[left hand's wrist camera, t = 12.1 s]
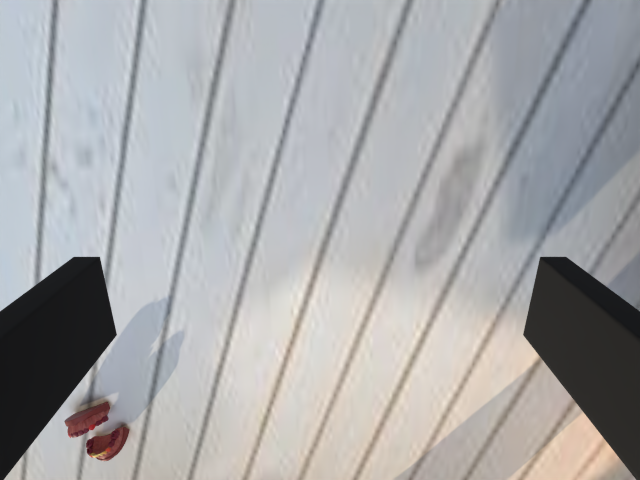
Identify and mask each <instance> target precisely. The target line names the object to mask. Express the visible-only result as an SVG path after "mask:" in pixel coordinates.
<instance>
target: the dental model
mask: <svg viewBox="0 0 640 480" xmlns="http://www.w3.org/2000/svg"><path fill="white" fill-rule="evenodd" d="M109 410H110V407H109V404H108V402H105V403H103V404H100V405H97V406H94V407H92V408H89V409H86V410H84V411H81V412H78V413H76V414H73V415H72V416H70V417H69V418H67V419H66V420H65V424H66V426H67V427H68V435H69V437H70V438H71V437H73V438H74V437H78V436H81V435H83V434H85V433H87V432H88V431H89V430H93V429H94V428H95V426H99V425H100V424H102V422H103V423H104V422H106V421H107V420H108V416H107V414H108V412H109ZM128 433H129V429H128V428H126V427H121V428H117V429H115V430H114V431H113V432H112V434H109V435H106V436H94V437H93V438H91V439H89V440H88V441H87V443H86V448H87V454H88V455H89V456H90V457H95V458H97V459H98V460H102V461H108V460H110V459H112V458H113V457H114V456H116V455H117V454H118V453H119V452H120V450H121V449H122V448H123V446H124V444H125V442H126V440H127V437H128Z"/></svg>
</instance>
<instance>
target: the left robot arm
mask: <svg viewBox="0 0 640 480" xmlns="http://www.w3.org/2000/svg"><path fill="white" fill-rule="evenodd" d="M116 335H117V334H116V329H115V325H114V320H113V316H112V311H111V306H110V302H109V297H108V293H107V288H106V284H105V279H104V274H103V270H102V265H101V261H100V257H73V258H72V259H71V260H69V261H68V262H67V263H65V264H64V265H62V266H61V267H60V268H58V269H57V270H56V271H54V272H53V273H52V274H50V275H49V276H48V277H46V278H45V279H44V280H42V281H41V282H39V283H38V284H37V285H35V286H34V287H33V288H31V289H30V290H29V291H27V292H26V293H25V294H23V295H22V296H21V297H19V298H18V299H17V300H15V301H14V302H12V303H11V304H10V305H8V306H7V307H6V308H4V309H3V310H2V311H0V480H4V478H5V477H6V476H7V475H8V473H9V472H10V471H11V470H12V468H13V467H14V466H15V464H16V463H17V462H18V461H19V459H20V458H21V457H22V455H23V454H24V453H25V452H26V450H27V449H28V448H29V446H30V445H31V444H32V443H33V441H34V440H35V439H36V438H37V436H38V435H39V434H40V432H41V431H42V430H43V429H44V427H45V426H46V425H47V423H48V422H49V421H50V420H51V418H52V417H53V416H54V415H55V413H56V412H57V411H58V409H59V408H60V407H61V406H62V404H63V403H64V402H65V400H66V399H67V398H68V397H69V395H70V394H71V393H72V391H73V390H74V389H75V388H76V386H77V385H78V384H79V383H80V381H81V380H82V379H83V377H84V376H85V375H86V374H87V372H88V371H89V370H90V368H91V367H92V366H93V365H94V363H95V362H96V361H97V360H98V358H99V357H100V356H101V354H102V353H103V352H104V351H105V349H106V348H107V347H108V345H109V344H110V343H111V342H112V340H113V339H114V338H115V336H116ZM523 335H524V336H525V338H526V339H527V340H528V342H529V343H530V344H531V345H532V347H533V348H534V349H535V351H536V352H537V353H538V354H539V356H540V357H541V358H542V360H543V361H544V362H545V363H546V365H547V366H548V367H549V368H550V370H551V371H552V372H553V374H554V375H555V376H556V377H557V379H558V380H559V381H560V383H561V384H562V385H563V386H564V388H565V389H566V390H567V391H568V393H569V394H570V395H571V397H572V398H573V399H574V400H575V402H576V403H577V404H578V406H579V407H580V408H581V409H582V411H583V412H584V413H585V415H586V416H587V417H588V418H589V420H590V421H591V422H592V423H593V425H594V426H595V427H596V429H597V430H598V431H599V432H600V434H601V435H602V436H603V438H604V439H605V440H606V441H607V443H608V444H609V445H610V446H611V448H612V449H613V450H614V452H615V453H616V454H617V455H618V457H619V458H620V459H621V461H622V462H623V463H624V464H625V466H626V467H627V468H628V470H629V471H630V472H631V473H632V475H633V476H634V477H635V478H636V480H640V311H638V310H637V309H636V308H634V307H633V306H632V305H630V304H629V303H628V302H626V301H625V300H623V299H622V298H621V297H619V296H618V295H617V294H615V293H614V292H613V291H611V290H610V289H609V288H607V287H606V286H605V285H603V284H602V283H601V282H599V281H598V280H596V279H595V278H594V277H592V276H591V275H590V274H588V273H587V272H586V271H584V270H583V269H582V268H580V267H579V266H578V265H576V264H575V263H573V262H572V261H571V260H569V259H568V258H567V257H540V261H539V265H538V270H537V274H536V279H535V284H534V288H533V293H532V297H531V302H530V306H529V311H528V316H527V320H526V325H525V329H524V334H523Z"/></svg>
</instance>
